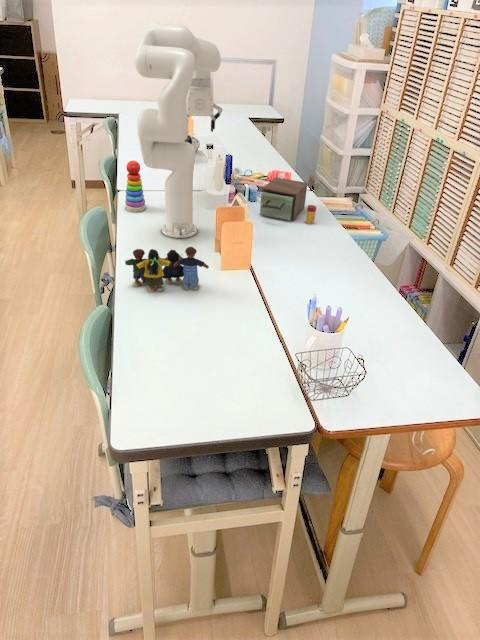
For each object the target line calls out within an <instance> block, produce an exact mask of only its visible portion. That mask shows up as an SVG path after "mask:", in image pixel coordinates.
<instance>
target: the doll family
mask: <svg viewBox="0 0 480 640" xmlns="http://www.w3.org/2000/svg"><path fill="white" fill-rule="evenodd" d="M184 253H185V254H186V256H187V257H183V255H184ZM184 253H181V254H179V252H177V251H176V250H175V249H170V250H169V251H168V252H167V253H166V257H160V254H159V253H158V250H157V249H153V248H151V249H150V250H148V255H147V258H144V256H145V254H146V252H145V250H144V249H141V248H136V249H135V250H133V251H132V255H133V257H134V258H129V259H127V260H125V261H124V263H125V265H126V266H132V274H133V275H132V278H133V279H134V284H133V286H134V287H140V285H141V286H147V289H148V291H149V292H155V290H156V291H157V292H162V291H163V290H164V288H163V286H164V284H165V282H166V283H167V284H170V285H171V284H174V283H175V284H176V285H180V284H181V283H183V285H182V288H183V289H184V290H190V287H191V288H192V290H197V289H198V288H199V287H200V285H199V281H200V278H199V275H198V274H199V273H198V272H199V271H198V267H200V268H202V267H203V268H204V269H206V270H207V269H210V266H209V265H208V264H207V263H205V262H204V261H203V260H201V259H199V258H196V257H195V256H196V254H197V249H196V248H195V247H193V246H188V247H187V248H185V250H184ZM173 278H174V279H175V280H173ZM140 279H141V281H140ZM164 279H165V282H164ZM173 281H174V283H173Z"/></svg>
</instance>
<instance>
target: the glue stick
mask: <svg viewBox="0 0 480 640" xmlns="http://www.w3.org/2000/svg"><path fill="white" fill-rule="evenodd" d="M306 208H307V209H306V215H305V216H306V218H305V223H306V224H308V225H314V224H315V218H316V212H317V206H316V205H314V204H308V205H307V207H306Z"/></svg>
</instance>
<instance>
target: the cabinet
mask: <svg viewBox="0 0 480 640" xmlns="http://www.w3.org/2000/svg"><path fill="white" fill-rule="evenodd" d="M307 189H308V182H306V181H305V182H304V181H301V180H294V179H287V178H281V177H278V176H277V177H274V178H272V179H271V180H270V181H269V182H268V183H266V184H265V185H264V186H263V187H262V188H261V193H262V192H266V191H269V192H274V193H279V194H285V195H290V196H294V200H293V209H292V216H291V220H289V222H294V221H295V220H296V218H297V217H299V215H300V214H301V213H302V211H303V210H304V209H305V206H306V198H307Z"/></svg>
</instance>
